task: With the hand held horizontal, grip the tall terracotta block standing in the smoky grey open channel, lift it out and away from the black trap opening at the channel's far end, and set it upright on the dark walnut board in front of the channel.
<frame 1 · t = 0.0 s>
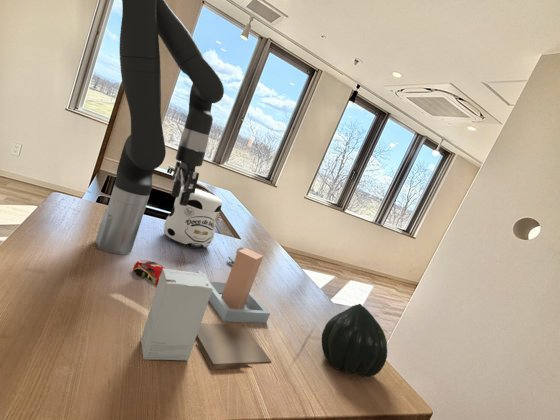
hand: (178, 200, 106), 17 cm above the worktop, tool pointing down, fingers open, 8 cm apart
squash: (343, 365, 85), on the worktop
milk container: (185, 242, 128), on the worktop
skincare box: (162, 352, 65), on the worktop
pacifier: (236, 266, 124), on the worktop
grey channel: (227, 303, 93), on the worktop
walnut board: (228, 346, 74), on the worktop
terracotta block: (232, 304, 92), point 1 cm above the worktop, touching grey channel
race car: (153, 282, 91), on the worktop
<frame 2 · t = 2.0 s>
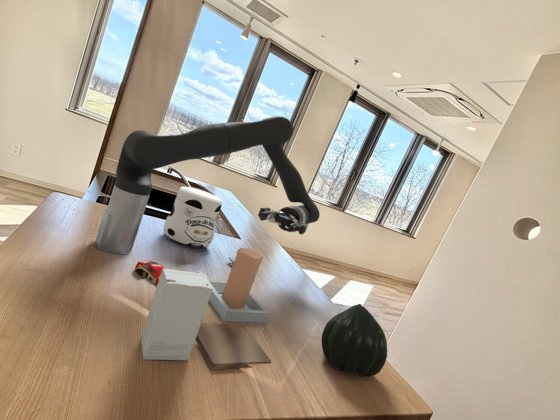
hand: (275, 222, 99), 23 cm above the worktop, tool horizontal, fingers open, 8 cm apart
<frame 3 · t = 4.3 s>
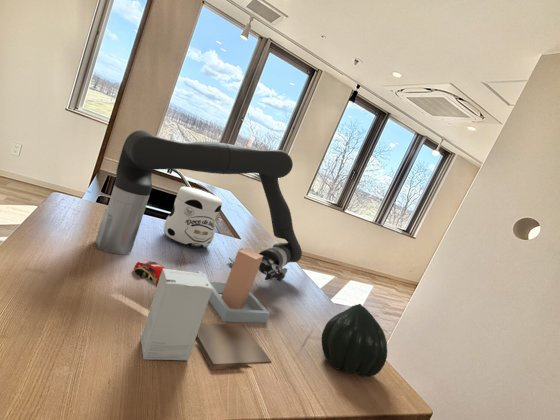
hand: (253, 270, 97), 9 cm above the worktop, tool horizontal, fingers open, 8 cm apart
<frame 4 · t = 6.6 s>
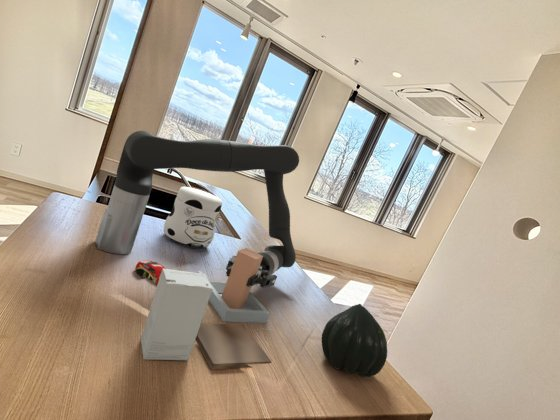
hand: (238, 277, 88), 9 cm above the worktop, tool horizontal, fingers closed on terracotta block, 5 cm apart
terracotta block: (232, 304, 92), point 1 cm above the worktop, touching grey channel, gripper
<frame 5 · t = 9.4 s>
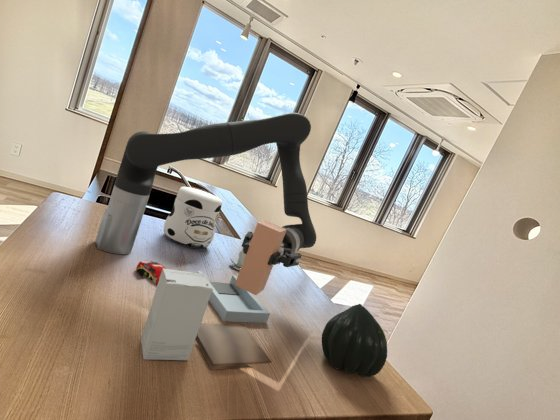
hand: (258, 254, 73), 20 cm above the worktop, tool horizontal, fingers closed on terracotta block, 5 cm apart
terracotta block: (249, 287, 77), point 12 cm above the worktop, touching gripper
when the fingers open (10 cm above the worktop, at t = 12.1 s): terracotta block drops 1 cm, resting on walnut board.
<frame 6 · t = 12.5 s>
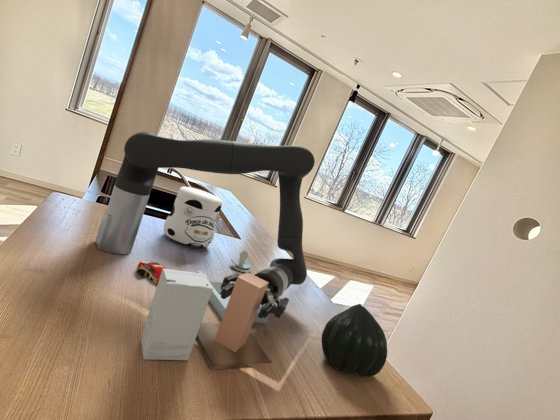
hand: (242, 303, 71), 10 cm above the worktop, tool horizontal, fingers open, 8 cm apart
terracotta block: (230, 341, 74), point 1 cm above the worktop, touching walnut board
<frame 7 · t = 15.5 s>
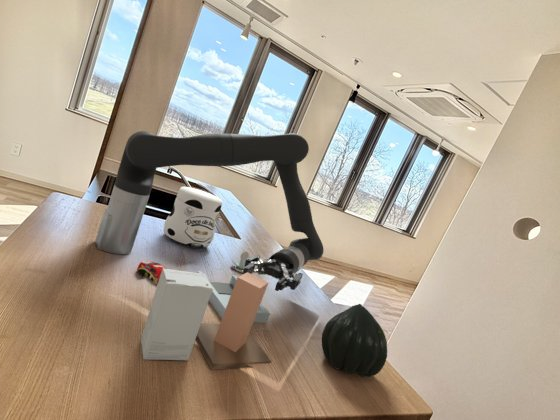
hand: (261, 279, 85), 12 cm above the worktop, tool horizontal, fingers open, 8 cm apart
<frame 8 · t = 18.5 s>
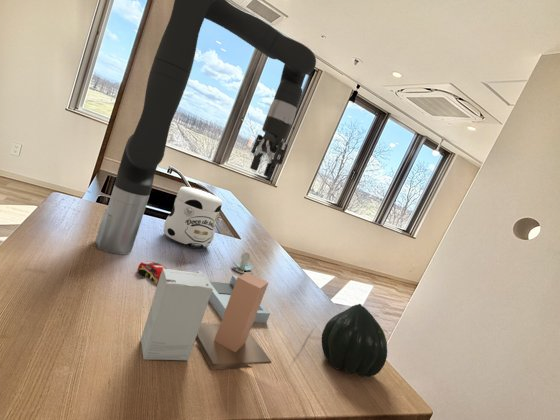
hand: (260, 173, 106), 33 cm above the worktop, tool pointing down, fingers open, 8 cm apart
at the end: terracotta block inside the target area on the walnut board (0.1 cm from its centre), point 1.2 cm above the walnut board's base; terracotta block tilted 0°; the gripper is holding nothing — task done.
